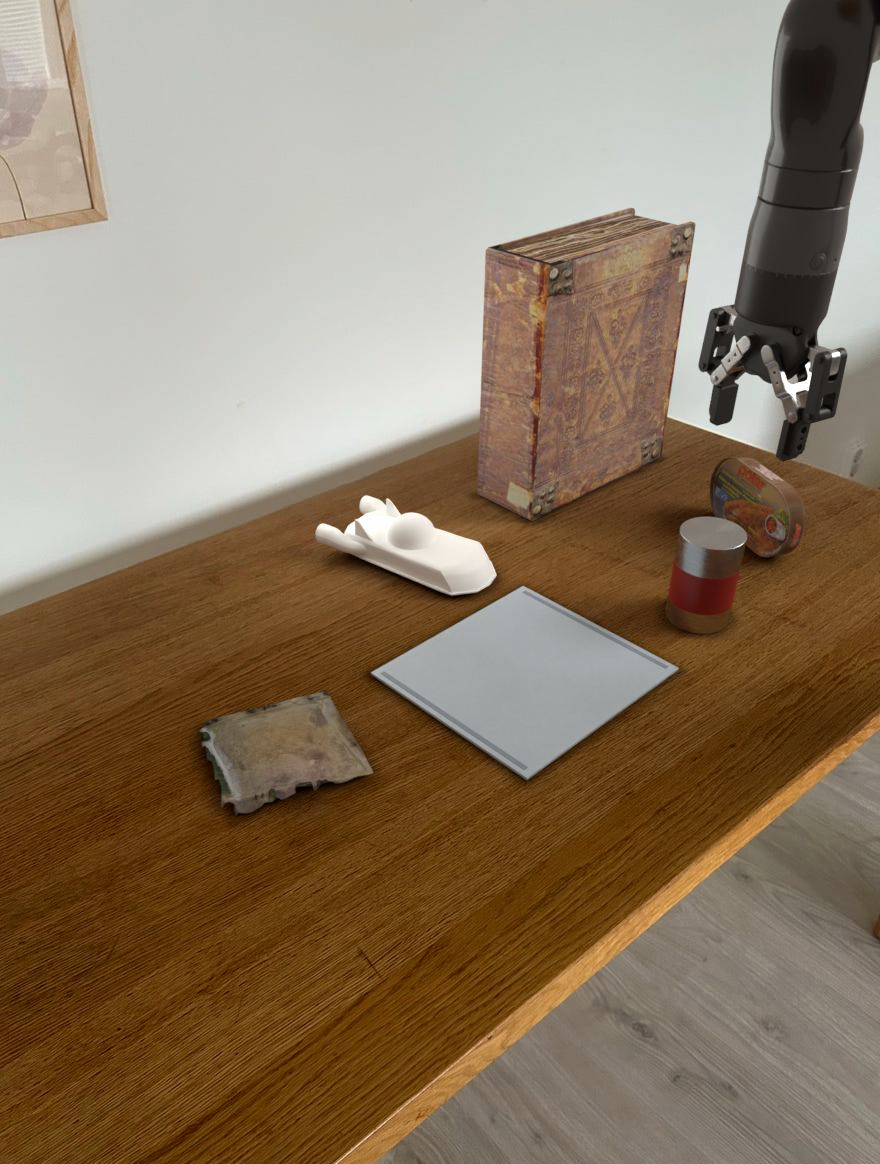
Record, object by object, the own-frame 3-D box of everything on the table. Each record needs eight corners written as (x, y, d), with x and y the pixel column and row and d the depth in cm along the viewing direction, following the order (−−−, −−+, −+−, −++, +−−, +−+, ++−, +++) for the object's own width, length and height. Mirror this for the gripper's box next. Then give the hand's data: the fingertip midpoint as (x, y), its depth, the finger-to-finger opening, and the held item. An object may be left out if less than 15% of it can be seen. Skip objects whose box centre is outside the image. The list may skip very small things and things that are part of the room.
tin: (703, 509, 123) (715, 445, 118) (725, 505, 124) (738, 441, 119) (775, 572, 112) (791, 504, 107) (799, 567, 112) (817, 500, 107)
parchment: (194, 726, 92) (193, 718, 91) (331, 693, 95) (331, 685, 95) (225, 820, 82) (223, 811, 82) (375, 779, 86) (375, 770, 85)
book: (607, 436, 140) (634, 206, 122) (661, 458, 134) (698, 220, 117) (476, 495, 127) (484, 247, 109) (530, 523, 121) (549, 265, 103)
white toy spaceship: (462, 612, 106) (463, 565, 103) (315, 555, 116) (312, 510, 112) (513, 569, 113) (516, 523, 109) (370, 518, 122) (369, 475, 119)
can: (741, 616, 105) (760, 532, 99) (705, 642, 101) (723, 556, 96) (688, 591, 109) (703, 509, 103) (652, 615, 105) (666, 532, 99)
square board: (678, 670, 98) (679, 667, 98) (526, 780, 86) (527, 777, 86) (523, 587, 110) (523, 585, 110) (370, 674, 98) (370, 672, 98)
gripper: (894, 273, 79) (842, 462, 89) (763, 230, 89) (729, 404, 99) (824, 288, 76) (778, 481, 86) (696, 242, 87) (668, 419, 96)
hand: (752, 439), depth 92 cm, fingers open, 8 cm apart
